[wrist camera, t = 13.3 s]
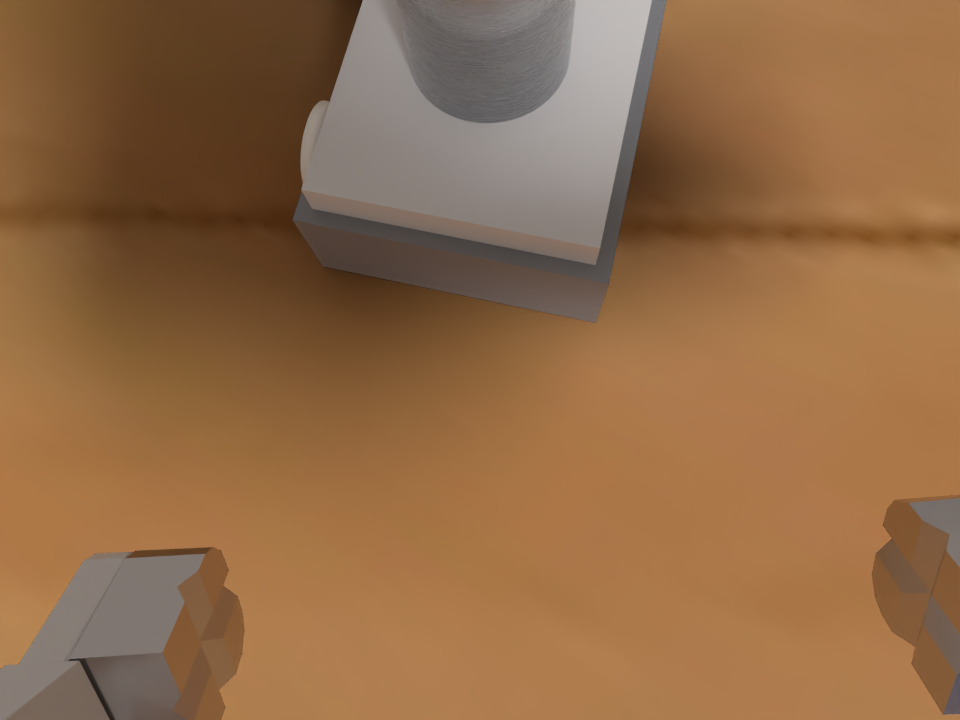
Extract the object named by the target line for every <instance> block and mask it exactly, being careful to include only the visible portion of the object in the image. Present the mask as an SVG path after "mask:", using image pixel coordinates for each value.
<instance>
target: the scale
mask: <svg viewBox="0 0 960 720" xmlns="http://www.w3.org/2000/svg"><path fill="white" fill-rule="evenodd" d="M665 5H666V0H576V5H575V15H574V24H573V33H572V43H571V52H570V60H569V66H568V69H567V72H566V75H565V77H564V79H563V81H562V83H561V85H560V86H559V88H558V89H557V91H556V92H555V93H554V94H553V95H552V97H551V98H550V99H549V100H548V101H546V102H545V103H544V104H543V105H542V106H540V107H539V108H537V109H536V110H534V111H533V112H530V113H528V114H526V115H524V116H522V117H519V118H516V119H514V120H509V121H505V122H498V123H476V122H469V121H465V120H461V119H458V118H455V117H453V116H450V115H448V114H446V113H445V112H443V111H441V110H440V109H438V108H437V107H435V106H434V105H433V104H432V103H431V102H429V101H428V100H427V99H426V98H425V96H424V95H423V94H422V93H421V91H420V90H419V88H418V86H417V85H416V83H415V81H414V78H413V76H412V72H411V68H410V64H409V59H408V54H407V50H406V45H405V40H404V36H403V31H402V26H401V21H400V17H399V12H398V7H397V3H396V0H363V1H362V4H361V7H360V11H359V14H358V17H357V20H356V23H355V26H354V29H353V32H352V35H351V38H350V41H349V44H348V47H347V50H346V53H345V56H344V60H343V63H342V66H341V69H340V72H339V75H338V78H337V81H336V84H335V87H334V90H333V93H332V96H331V99H330V101H324V100H322V101H320V102H318V103H317V104H316V105H315V106H314V108H313V109H312V111H311V113H310V115H309V117H308V120H307V123H306V126H305V130H304V134H303V139H302V146H301V160H300V162H301V176H302V181H303V185H302V188H301V190H302V192H301V195H300V198H299V201H298V204H297V207H296V210H295V214H294V217H293V222H294V223H295V225H296V227H297V228H298V230H299V231H300V233H301V234H302V236H303V237H304V239H305V240H306V242H307V244H308V245H309V247H310V248H311V250H312V251H313V253H314V254H315V256H316V257H317V259H318V261H319V262H320V264H321V265H322V266H323V267H328V268H333V269H338V270H342V271H347V272H352V273H357V274H362V275H367V276H371V277H376V278H381V279H386V280H391V281H396V282H400V283H405V284H410V285H415V286H420V287H425V288H429V289H434V290H439V291H444V292H449V293H454V294H458V295H463V296H468V297H473V298H478V299H483V300H487V301H492V302H497V303H502V304H507V305H512V306H516V307H521V308H526V309H531V310H536V311H541V312H545V313H550V314H555V315H560V316H565V317H570V318H574V319H579V320H584V321H589V322H594V323H596V320H597V317H598V314H599V311H600V308H601V306H602V303H603V300H604V297H605V294H606V291H607V288H608V285H609V280H610V275H611V270H612V266H613V261H614V256H615V251H616V246H617V241H618V236H619V231H620V226H621V221H622V216H623V212H624V207H625V202H626V197H627V192H628V187H629V182H630V177H631V172H632V167H633V162H634V157H635V153H636V148H637V143H638V138H639V133H640V128H641V123H642V118H643V113H644V108H645V103H646V98H647V94H648V89H649V84H650V79H651V74H652V69H653V64H654V59H655V54H656V49H657V44H658V40H659V35H660V30H661V25H662V20H663V15H664V10H665Z"/></svg>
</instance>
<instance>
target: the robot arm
mask: <svg viewBox="0 0 960 720" xmlns="http://www.w3.org/2000/svg"><path fill="white" fill-rule="evenodd" d="M883 526H884V528H885V529H886V531H887V532H888V534H889V535H890V536H891V538H892V539H891V540H890V541H889V542H888V543H886V544H885V545H884V546H883V547H882V548H881V549H880V550H879V551H878V552H877V553H876V555H875V561H874V566H873V571H872V579H873V587H874V594H875V598H876V601H877V604H878V606H879V609H880V612H881V614H882V616H883V618H884V619H885V621H886V623H887V624H888V626H889V628H890V629H891V631H892V632H893V633H895V634H896V635H898V636H899V637H901V638H902V639H904V640H905V641H907V642H909V643H910V644H912V645H913V646H915V649H914V653H913V658H912V663H911V664H912V665H913V667H914V669H915V670H916V672H917V674H918V675H919V677H920V678H921V680H922V682H923V683H924V685H925V686H926V688H927V690H928V691H929V693H930V694H931V696H932V698H933V699H934V701H935V703H936V704H937V706H938V707H939V709H940V711H941V712H942V714H943V715H947V714H960V495H950V496H937V497H924V498H911V499H898V500H894V501H893V502H892V504H891V505H890V506H889V507H888V509H887V511H886V515H885V519H884V523H883ZM228 571H229V569H228V567H227V564H226V562H225V559H224V556H223V554H222V551H221V550H219V549H216V548H214V547H207V548H185V549H163V550H141V551H134V552H116V553H95V554H93V555H92V556H90V557H89V558H87V559H86V560H84V561H83V563H82V564H81V566H80V567H79V569H78V570H77V572H76V574H75V575H74V577H73V578H72V580H71V582H70V583H69V585H68V586H67V588H66V590H65V591H64V593H63V594H62V596H61V597H60V599H59V601H58V602H57V604H56V605H55V607H54V609H53V610H52V612H51V613H50V615H49V617H48V618H47V620H46V621H45V623H44V625H43V626H42V628H41V629H40V631H39V633H38V634H37V636H36V637H35V639H34V641H33V642H32V644H31V645H30V647H29V648H28V650H27V652H26V653H25V655H24V656H23V658H22V660H21V661H20V663H19V664H17V665H6V666H4V667H3V668H1V669H0V720H221V719H222V716H223V713H224V710H225V705H224V702H223V699H222V697H221V694H220V691H219V690H220V689H221V688H222V687H223V686H224V685H225V684H226V683H227V682H228V681H229V680H230V679H231V678H232V677H233V676H234V675H235V674H236V672H237V669H238V665H239V662H240V658H241V655H242V649H243V638H244V622H243V613H242V609H241V605H240V602H239V599H238V596H237V595H235V594H234V593H233V592H231V591H230V590H229V589H227V588H226V587H224V586H223V584H224V582H225V579H226V576H227V574H228Z"/></svg>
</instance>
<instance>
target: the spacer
mask: <svg viewBox="0 0 960 720" xmlns="http://www.w3.org/2000/svg"><path fill="white" fill-rule="evenodd" d="M396 3H397V7H398V12H399V17H400V21H401V26H402V31H403V36H404V40H405V45H406V50H407V54H408V59H409V64H410V68H411V72H412V76H413V78H414V81H415V83H416V85H417V86H418V88H419V90H420V91H421V93H422V94H423V95H424V96H425V98H426V99H427V100H428V101H429V102H431V103H432V104H433V105H434V106H435V107H437V108H438V109H440V110H441V111H443V112H445V113H446V114H448V115H450V116H453V117H455V118H458V119H461V120H465V121H469V122H476V123H498V122H505V121H509V120H514V119H516V118H519V117H522V116H524V115H526V114H528V113H530V112H533V111H534V110H536V109H537V108H539V107H540V106H542V105H543V104H544V103H545V102H546V101H548V100H549V99H550V98H551V97H552V95H553V94H554V93H555V92H556V91H557V89H558V88H559V86H560V85H561V83H562V81H563V79H564V77H565V75H566V72H567V69H568V66H569V60H570V52H571V43H572V33H573V24H574V15H575V5H576V0H396Z"/></svg>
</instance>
